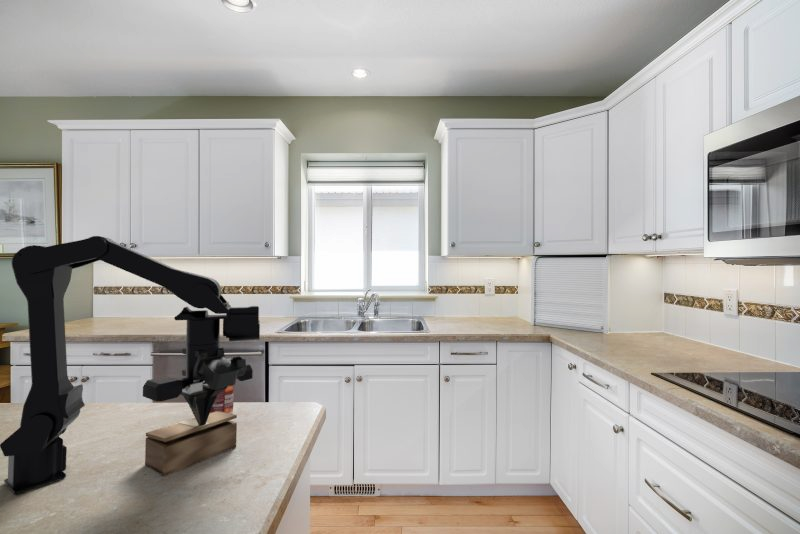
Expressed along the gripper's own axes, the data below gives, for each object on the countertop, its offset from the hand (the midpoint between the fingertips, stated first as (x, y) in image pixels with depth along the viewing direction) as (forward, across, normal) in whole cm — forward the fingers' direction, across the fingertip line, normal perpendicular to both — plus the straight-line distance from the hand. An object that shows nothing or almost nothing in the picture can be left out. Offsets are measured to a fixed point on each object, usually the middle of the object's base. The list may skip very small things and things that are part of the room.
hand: (201, 424), depth 75 cm
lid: (+1, 0, +3) cm, 3 cm away
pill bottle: (+7, +16, +19) cm, 26 cm away
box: (+7, 0, +3) cm, 7 cm away
